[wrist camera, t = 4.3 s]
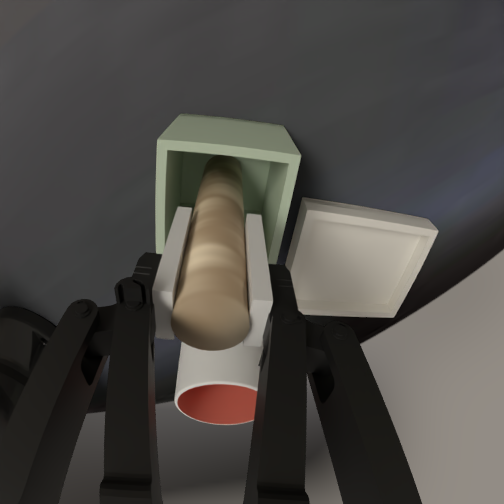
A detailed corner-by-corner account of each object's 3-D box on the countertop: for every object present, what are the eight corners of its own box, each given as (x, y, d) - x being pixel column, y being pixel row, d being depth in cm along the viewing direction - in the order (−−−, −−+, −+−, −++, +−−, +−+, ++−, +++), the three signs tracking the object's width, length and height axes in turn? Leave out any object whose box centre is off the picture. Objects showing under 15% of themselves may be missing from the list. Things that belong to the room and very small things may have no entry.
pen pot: (174, 204, 28) (156, 257, 21) (180, 113, 23) (157, 139, 17) (266, 213, 29) (274, 269, 22) (283, 125, 24) (301, 155, 18)
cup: (189, 298, 34) (179, 375, 26) (276, 313, 36) (286, 388, 28) (179, 351, 40) (171, 418, 32) (252, 362, 42) (256, 428, 34)
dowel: (202, 186, 26) (171, 347, 13) (205, 152, 24) (169, 294, 11) (239, 190, 26) (243, 353, 13) (244, 156, 24) (255, 302, 11)
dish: (276, 297, 35) (278, 312, 33) (302, 197, 28) (307, 209, 26) (387, 303, 36) (393, 317, 34) (427, 218, 30) (438, 231, 28)
